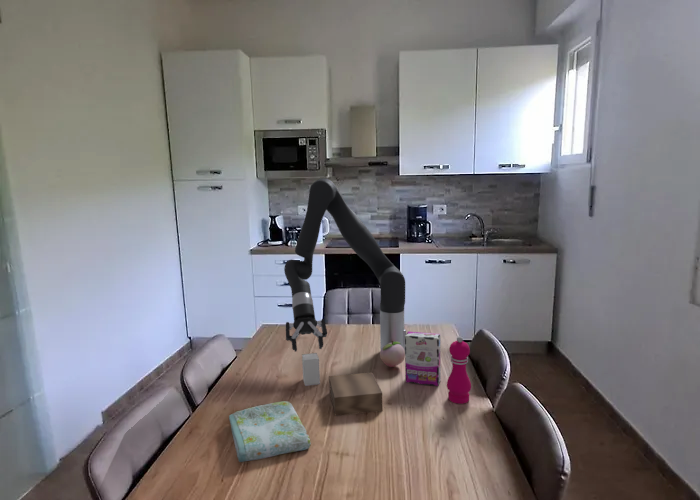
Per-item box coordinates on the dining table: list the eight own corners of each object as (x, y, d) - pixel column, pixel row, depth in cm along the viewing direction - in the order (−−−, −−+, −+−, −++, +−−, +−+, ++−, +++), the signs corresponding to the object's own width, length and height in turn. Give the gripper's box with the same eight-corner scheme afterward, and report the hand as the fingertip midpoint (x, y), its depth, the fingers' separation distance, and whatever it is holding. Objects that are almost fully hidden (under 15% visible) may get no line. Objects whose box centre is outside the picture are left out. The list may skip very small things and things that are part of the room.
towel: (291, 411, 133) (291, 395, 132) (311, 452, 114) (311, 433, 113) (228, 425, 127) (227, 408, 126) (238, 470, 107) (237, 450, 106)
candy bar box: (440, 380, 150) (441, 333, 148) (438, 386, 146) (439, 338, 143) (407, 376, 154) (407, 330, 151) (404, 382, 149) (404, 335, 146)
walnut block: (372, 389, 145) (372, 372, 144) (382, 411, 132) (382, 392, 131) (329, 393, 143) (329, 376, 142) (335, 416, 130) (334, 397, 129)
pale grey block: (317, 377, 154) (316, 352, 153) (319, 384, 150) (318, 358, 148) (303, 379, 153) (302, 354, 152) (305, 385, 148) (303, 360, 147)
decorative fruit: (396, 375, 155) (396, 347, 153) (376, 369, 160) (376, 342, 158) (409, 365, 162) (409, 339, 160) (390, 360, 167) (390, 334, 165)
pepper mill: (468, 393, 141) (470, 332, 137) (472, 405, 134) (474, 341, 130) (445, 392, 141) (446, 332, 138) (448, 404, 134) (448, 340, 131)
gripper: (283, 304, 158) (287, 347, 149) (323, 300, 161) (330, 342, 152) (283, 314, 164) (287, 356, 155) (321, 310, 167) (327, 351, 158)
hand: (308, 349), depth 153 cm, fingers open, 8 cm apart
